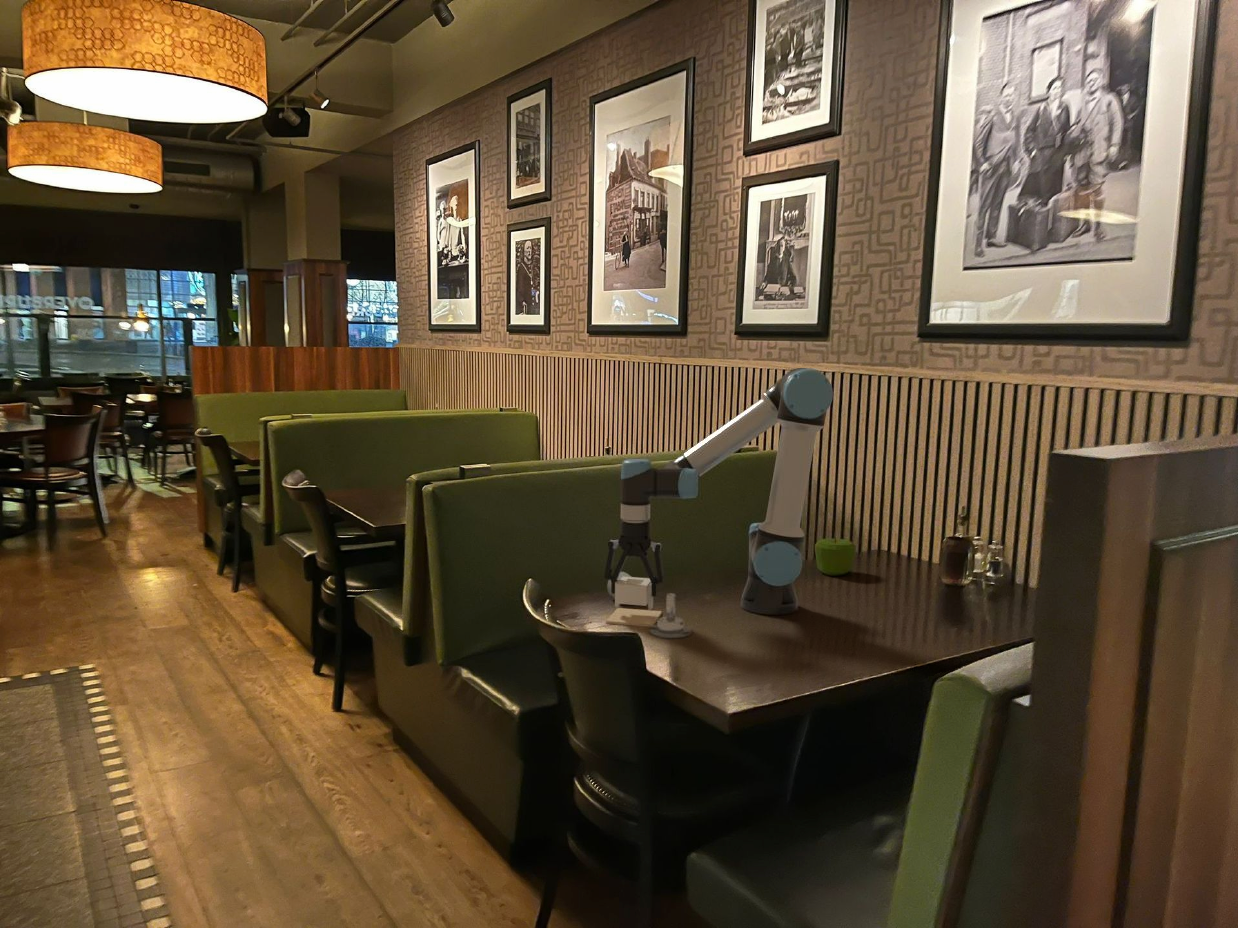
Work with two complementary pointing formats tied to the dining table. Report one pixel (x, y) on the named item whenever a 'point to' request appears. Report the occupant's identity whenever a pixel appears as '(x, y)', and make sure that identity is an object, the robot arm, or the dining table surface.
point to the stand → (670, 623)
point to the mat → (634, 617)
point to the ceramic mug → (622, 574)
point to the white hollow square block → (632, 591)
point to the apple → (834, 556)
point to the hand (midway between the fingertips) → (633, 606)
